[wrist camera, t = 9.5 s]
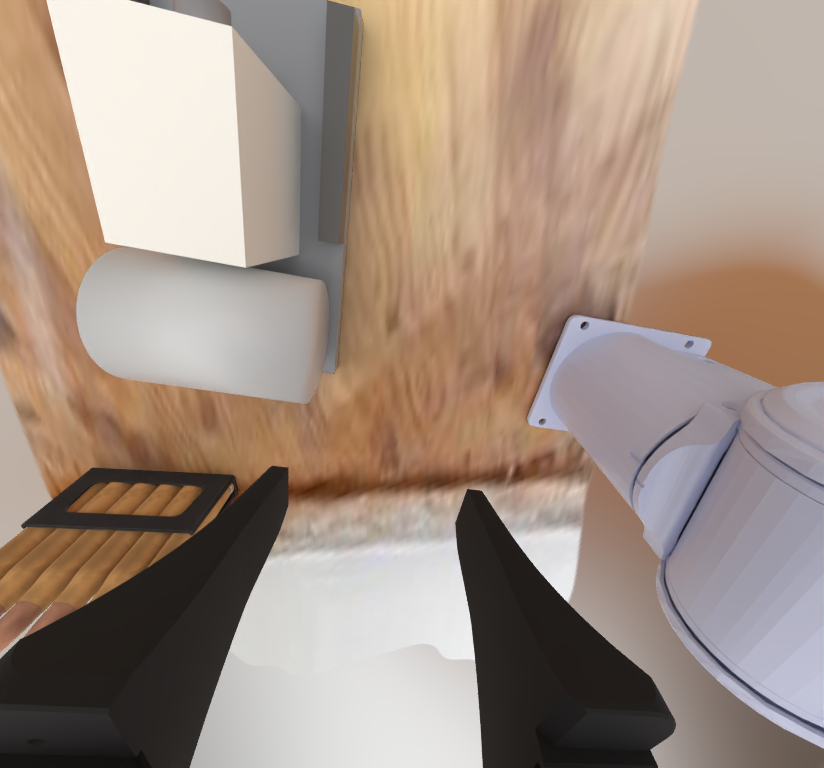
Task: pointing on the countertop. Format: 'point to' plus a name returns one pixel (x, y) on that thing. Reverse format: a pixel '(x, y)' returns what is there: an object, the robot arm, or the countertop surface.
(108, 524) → the ammunition clip
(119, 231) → the block
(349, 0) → the countertop surface
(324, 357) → the motor mount
